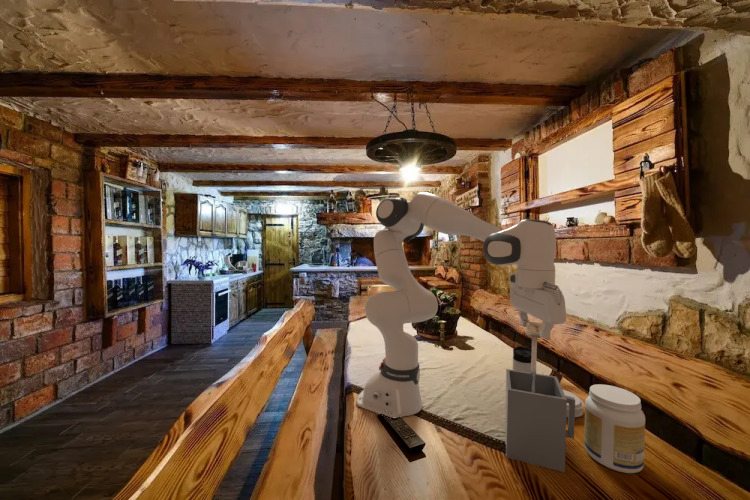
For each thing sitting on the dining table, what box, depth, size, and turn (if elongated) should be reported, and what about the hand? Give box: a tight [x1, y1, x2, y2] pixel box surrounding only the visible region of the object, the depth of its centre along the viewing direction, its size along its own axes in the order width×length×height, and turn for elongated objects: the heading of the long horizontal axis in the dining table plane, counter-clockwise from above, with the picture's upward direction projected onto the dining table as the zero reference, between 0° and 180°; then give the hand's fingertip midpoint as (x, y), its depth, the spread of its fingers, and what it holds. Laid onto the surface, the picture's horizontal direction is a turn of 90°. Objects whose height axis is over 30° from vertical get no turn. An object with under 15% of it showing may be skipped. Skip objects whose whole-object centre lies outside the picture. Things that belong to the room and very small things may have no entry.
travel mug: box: [512, 345, 532, 373], centre depth 100 cm, size 6×7×20 cm
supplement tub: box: [583, 383, 646, 474], centre depth 77 cm, size 12×12×17 cm
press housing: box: [504, 368, 576, 473], centre depth 80 cm, size 16×13×18 cm
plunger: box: [525, 321, 544, 393], centre depth 80 cm, size 10×10×22 cm
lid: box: [562, 389, 585, 418], centre depth 100 cm, size 13×13×5 cm
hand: (534, 331), depth 80 cm, fingers open, 8 cm apart
